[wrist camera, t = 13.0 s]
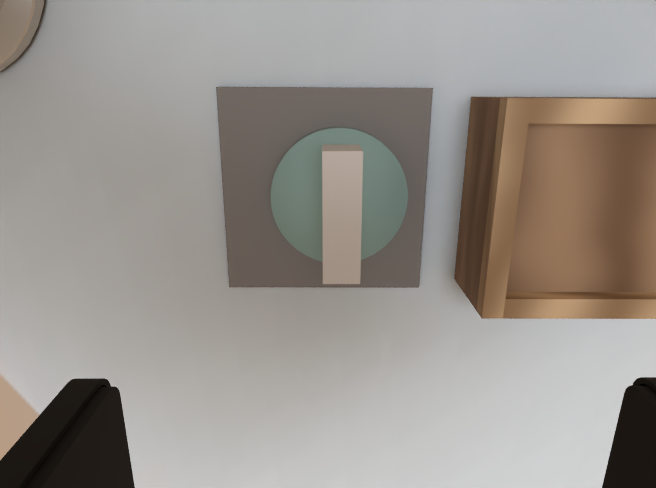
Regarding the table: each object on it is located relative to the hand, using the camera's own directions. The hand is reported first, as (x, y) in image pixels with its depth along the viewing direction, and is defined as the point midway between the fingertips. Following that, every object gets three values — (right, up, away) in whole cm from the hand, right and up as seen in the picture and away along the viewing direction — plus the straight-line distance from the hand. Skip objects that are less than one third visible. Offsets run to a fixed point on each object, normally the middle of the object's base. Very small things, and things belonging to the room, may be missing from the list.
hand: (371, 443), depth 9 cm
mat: (-1, +7, +22) cm, 23 cm away
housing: (+15, +7, +22) cm, 28 cm away
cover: (0, +7, +22) cm, 23 cm away
